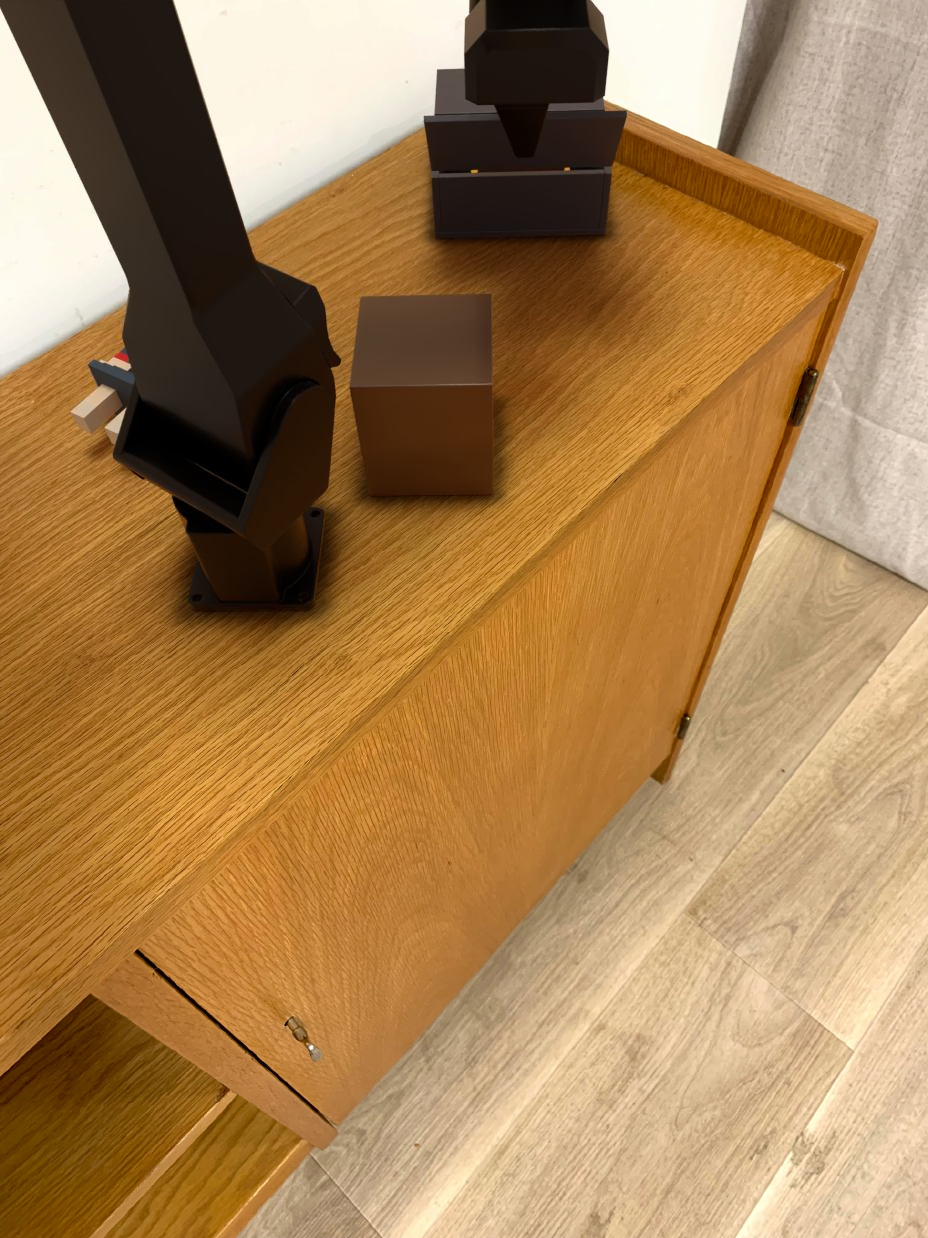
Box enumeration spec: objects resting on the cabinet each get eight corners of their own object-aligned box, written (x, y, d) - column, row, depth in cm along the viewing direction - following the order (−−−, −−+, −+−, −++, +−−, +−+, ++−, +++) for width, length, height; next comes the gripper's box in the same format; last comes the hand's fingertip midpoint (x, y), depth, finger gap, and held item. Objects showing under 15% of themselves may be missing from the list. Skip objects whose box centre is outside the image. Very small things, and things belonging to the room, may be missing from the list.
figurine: (27, 380, 50) (200, 237, 57) (59, 434, 53) (218, 294, 60) (145, 434, 47) (311, 278, 54) (170, 488, 51) (323, 335, 58)
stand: (493, 494, 50) (492, 384, 43) (369, 496, 50) (348, 386, 43) (493, 406, 53) (492, 292, 47) (377, 408, 54) (359, 295, 47)
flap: (612, 160, 58) (612, 166, 58) (431, 165, 59) (431, 171, 59) (627, 109, 52) (626, 116, 52) (423, 115, 52) (423, 122, 52)
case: (605, 234, 63) (613, 161, 58) (435, 238, 63) (430, 165, 59) (592, 135, 70) (599, 63, 65) (440, 139, 70) (436, 68, 66)
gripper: (769, -141, 32) (689, 251, 45) (699, -282, 42) (650, 69, 55) (458, -131, 32) (468, 255, 45) (464, -274, 42) (471, 74, 55)
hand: (524, 154), depth 50 cm, fingers closed
